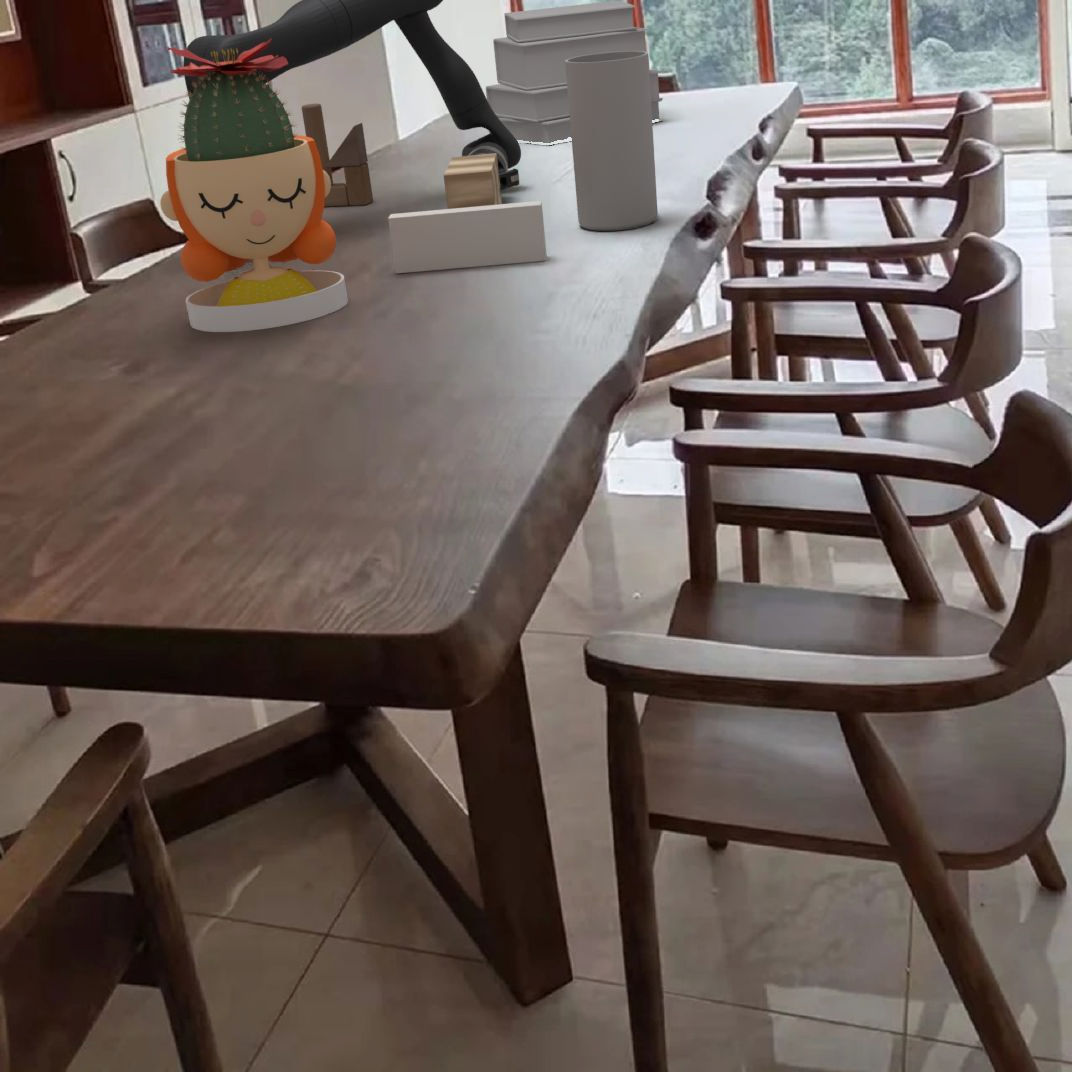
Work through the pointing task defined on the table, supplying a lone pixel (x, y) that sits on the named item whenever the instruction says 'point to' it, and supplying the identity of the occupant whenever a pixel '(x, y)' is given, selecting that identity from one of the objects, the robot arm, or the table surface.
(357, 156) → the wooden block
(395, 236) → the board
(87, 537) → the table surface
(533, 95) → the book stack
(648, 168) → the cylinder vase
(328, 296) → the potted cactus
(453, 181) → the maple block
